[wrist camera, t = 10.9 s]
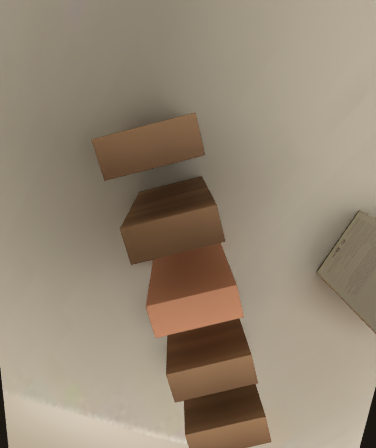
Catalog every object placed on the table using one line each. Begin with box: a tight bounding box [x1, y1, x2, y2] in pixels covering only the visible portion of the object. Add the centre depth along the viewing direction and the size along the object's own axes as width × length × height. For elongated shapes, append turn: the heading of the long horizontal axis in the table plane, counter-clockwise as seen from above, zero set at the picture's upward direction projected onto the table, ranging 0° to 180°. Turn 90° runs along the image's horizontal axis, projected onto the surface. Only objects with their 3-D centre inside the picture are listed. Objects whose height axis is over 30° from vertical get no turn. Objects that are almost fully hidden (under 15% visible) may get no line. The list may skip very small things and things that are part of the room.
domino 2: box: [120, 176, 225, 265], centre depth 23 cm, size 2×5×10 cm, turn 104°
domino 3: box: [146, 243, 244, 338], centre depth 24 cm, size 2×5×10 cm, turn 104°
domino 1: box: [91, 113, 205, 181], centre depth 21 cm, size 2×5×10 cm, turn 104°
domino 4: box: [166, 319, 258, 402], centre depth 25 cm, size 2×5×10 cm, turn 104°
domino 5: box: [184, 384, 271, 448], centre depth 26 cm, size 2×5×10 cm, turn 104°
